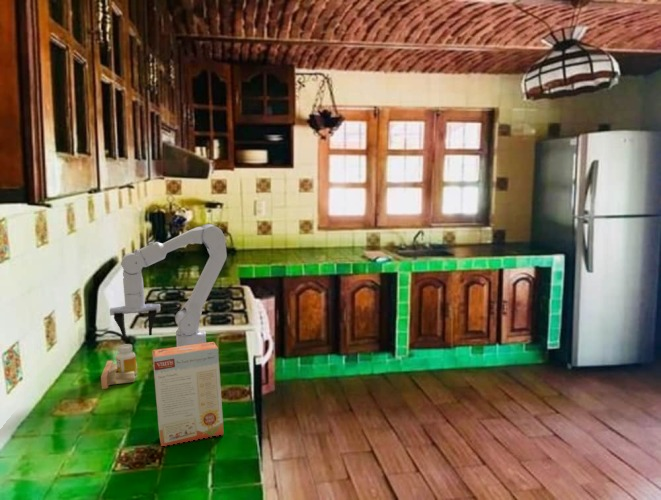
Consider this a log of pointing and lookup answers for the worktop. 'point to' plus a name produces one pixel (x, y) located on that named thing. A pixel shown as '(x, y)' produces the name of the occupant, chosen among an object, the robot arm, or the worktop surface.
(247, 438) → the worktop surface
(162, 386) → the cracker box
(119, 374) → the slot block
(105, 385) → the rail
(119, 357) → the supplement bottle
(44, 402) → the worktop surface
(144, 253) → the robot arm
